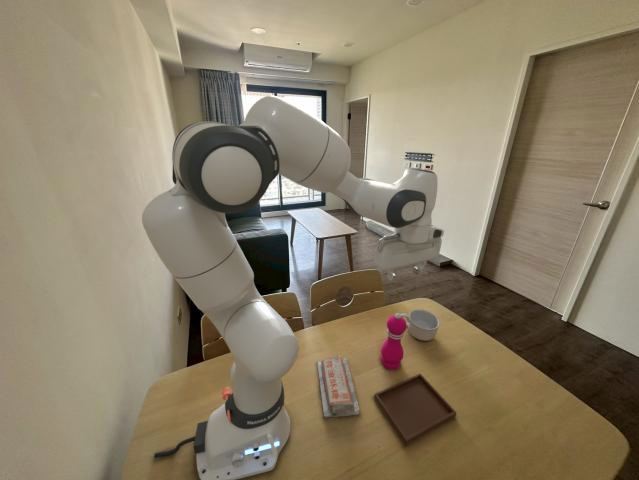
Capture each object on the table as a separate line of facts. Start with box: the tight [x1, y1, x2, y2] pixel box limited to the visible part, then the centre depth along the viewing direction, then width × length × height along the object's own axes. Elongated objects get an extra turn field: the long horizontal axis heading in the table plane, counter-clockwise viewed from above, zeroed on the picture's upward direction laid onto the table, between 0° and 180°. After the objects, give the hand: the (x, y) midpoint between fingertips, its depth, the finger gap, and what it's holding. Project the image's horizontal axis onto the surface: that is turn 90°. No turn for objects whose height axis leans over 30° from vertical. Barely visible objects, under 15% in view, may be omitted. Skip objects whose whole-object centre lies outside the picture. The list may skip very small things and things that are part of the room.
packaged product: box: [317, 355, 361, 419], centre depth 75 cm, size 18×5×10 cm
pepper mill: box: [380, 312, 407, 371], centre depth 81 cm, size 7×7×20 cm
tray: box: [373, 373, 457, 446], centre depth 70 cm, size 17×13×2 cm
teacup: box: [400, 308, 441, 342], centre depth 96 cm, size 14×11×8 cm
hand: (404, 276), depth 72 cm, fingers open, 8 cm apart
